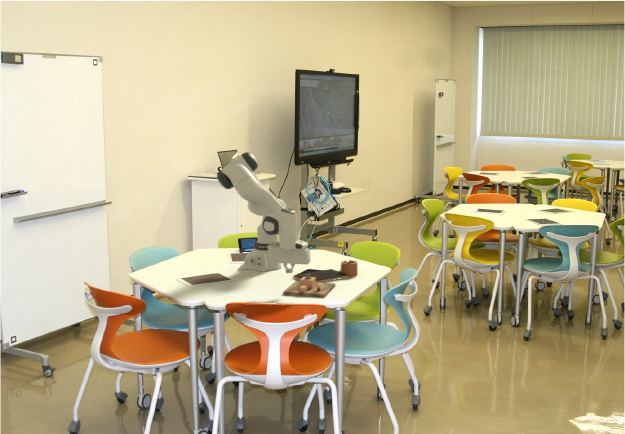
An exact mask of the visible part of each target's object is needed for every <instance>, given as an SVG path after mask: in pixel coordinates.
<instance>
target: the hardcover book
mask: <svg viewBox="0 0 625 434" xmlns="http://www.w3.org/2000/svg"><path fill="white" fill-rule="evenodd" d="M306 274H310V277H316V282H321V283H328V282H330V281H329V280H333V279H338V278H345V279H348V278H349V277H348V274H345V273H342V272H341V271H339V270H336V269H332V268H330V269H324V270H323V269H322V270H317V271H312V272H311V271H310V272H305V273H299V274H294V275H293V279H295V280H296V281H300V279H302V278H303V277H306ZM327 281H328V282H327Z"/></svg>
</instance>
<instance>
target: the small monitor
mask: <svg viewBox="0 0 625 434" xmlns="http://www.w3.org/2000/svg"><path fill="white" fill-rule="evenodd" d="M257 241H258V238H257V236H255V237H254V236H253V237H250V236H249V237H239V238H238V239H237V245H238V250H239V252H240V253H241V252H251V251H252V250H254V249H255V247H254V245H253V244H254V243H256V242H257Z"/></svg>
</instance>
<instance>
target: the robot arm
mask: <svg viewBox="0 0 625 434" xmlns="http://www.w3.org/2000/svg"><path fill="white" fill-rule="evenodd" d="M258 166H259V164H258V160H257V157H256V156H254V154H252V153H250V152H249V151H248V152H247V151H246V152H243V153H242V154H241V155H239V156H237V157H236V158H234V159H233V160H231V161H230V162H229V163H228V164H227V165H225V167H223V168H222V169H220V170H219V171H218V173H217V175H216V178H217V181H218V184H219V185H220V187H222V188H224V190H230V189H233V188H234V189H235V191H236V192H237V193H238V195H239V196H240V197H241V198H242V199H243V200H245V201H246V202H248V203H247V209H248V210H249V212H251V213H252V214H254V215H256V216H258V217H259V216H260V217H262V219H261V223H260V224H259V225H258V226H257V228H256V229H257V231H256V233H257V236H256V237H257V238H258V241H257V242H256V243H254V244H253V245H254V247H255V249H254V250H252V251H251V252H250V253H246V255H245V257H244V261H243V263H242V264H241V265H240V266H239V269H241V270H249V271H255V272H256V271H258V272H267V271H273V270H274V271H275V270H278V269H281V268H282V267H283V268H284V269H285V274H287V273H288V274H293V272H294V271H293V269H294V268H295V266H296V265H309V264H310V263H311V251H310V249H309V248H308V246H309V243H308V242H307V241H304V240H301V239H299V235H298V229H299V220H298V215H297V214H298V213H297V211H296V210H294V209H293V208H288V207H287V205H286V203H285V201H284V200H283V199H281V198H279V197H277V196H275V194H274V193H273V192H272V191H270V190H269V189H268V188H266V187H265V186H264V184H263V183H262V182H261V180H260V179H259V178H258V176H257V175H256V174H255V173H254V172H255V171H257V169H258ZM288 264H290V266H291V267H290V268H289V267H288V266H287V265H288Z"/></svg>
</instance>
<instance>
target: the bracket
mask: <svg viewBox="0 0 625 434" xmlns="http://www.w3.org/2000/svg"><path fill="white" fill-rule="evenodd" d="M340 263H341V264H340V272H342V273H345V274H348V278H353V276H354V277H357V276H358V261H357V260H348V261H347V260H342V261H341V262H340Z"/></svg>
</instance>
